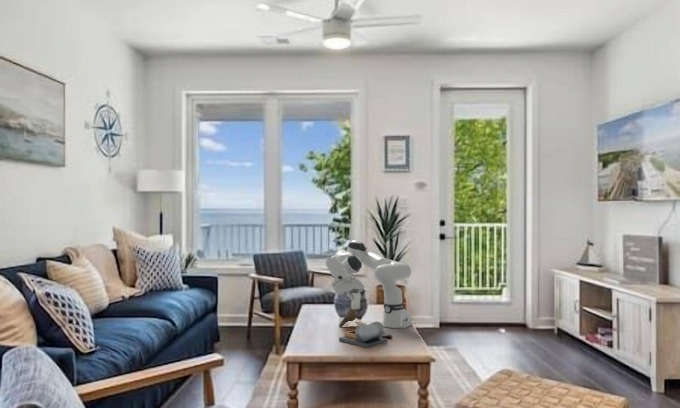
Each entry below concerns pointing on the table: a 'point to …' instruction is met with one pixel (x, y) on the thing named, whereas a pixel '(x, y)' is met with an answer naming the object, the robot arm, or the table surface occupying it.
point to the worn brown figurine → (348, 316)
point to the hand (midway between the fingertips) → (356, 298)
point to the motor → (365, 335)
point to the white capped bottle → (355, 299)
